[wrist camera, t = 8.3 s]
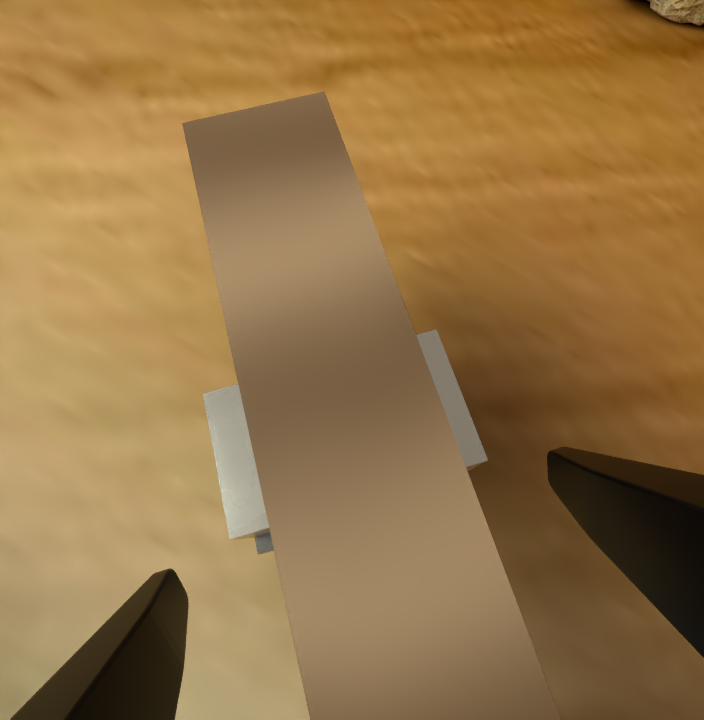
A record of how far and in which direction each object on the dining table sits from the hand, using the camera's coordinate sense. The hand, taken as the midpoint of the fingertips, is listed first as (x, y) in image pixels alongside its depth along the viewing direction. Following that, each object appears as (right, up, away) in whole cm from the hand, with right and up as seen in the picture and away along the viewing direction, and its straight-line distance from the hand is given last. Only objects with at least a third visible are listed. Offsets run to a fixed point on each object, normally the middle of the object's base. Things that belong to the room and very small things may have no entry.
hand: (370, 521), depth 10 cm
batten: (-1, +2, +2) cm, 3 cm away
